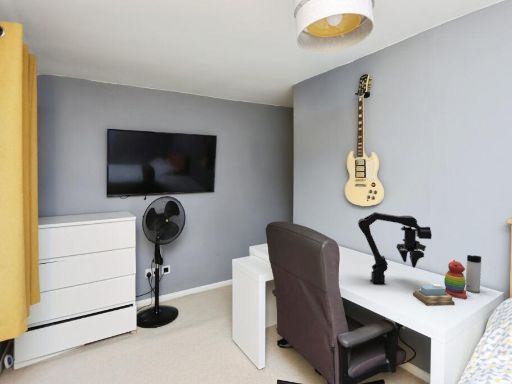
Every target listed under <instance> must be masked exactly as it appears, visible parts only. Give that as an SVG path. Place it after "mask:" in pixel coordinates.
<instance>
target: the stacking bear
mask: <svg viewBox="0 0 512 384" xmlns="http://www.w3.org/2000/svg"><path fill="white" fill-rule="evenodd" d="M464 271H466V267H465V266H464V265H463V264H462V263H461V262H460V261H456V260H455V259H453V260H452V261H450V262H448V270H447V272H446V273H445V276H444V281H443V282H444V288H445V292H446V293H447V294H449V295H450V296H452V298H457V299H463V300H467V299H468V296H467V290H466V276H465V275H464V273H463V272H464Z"/></svg>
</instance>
